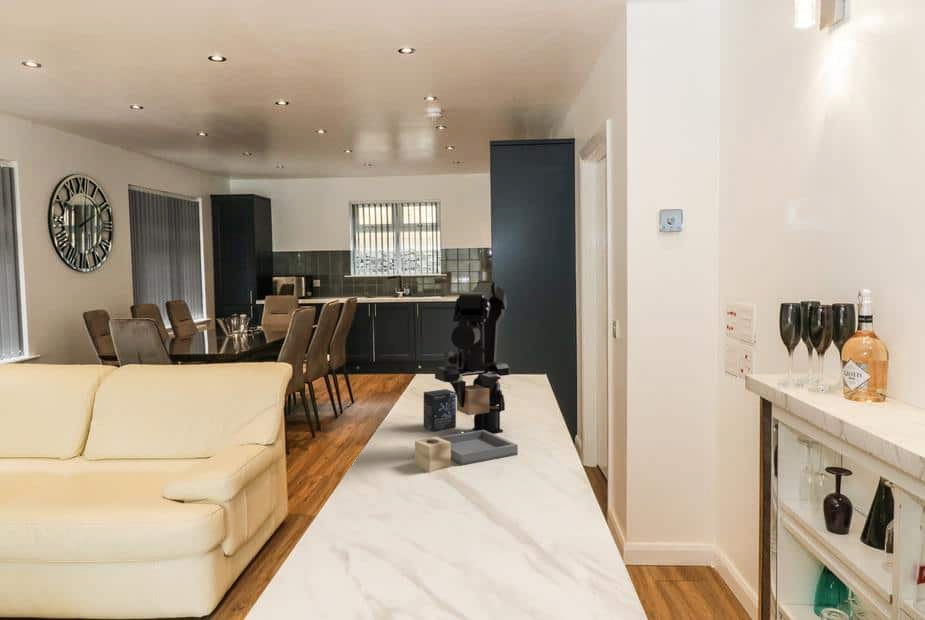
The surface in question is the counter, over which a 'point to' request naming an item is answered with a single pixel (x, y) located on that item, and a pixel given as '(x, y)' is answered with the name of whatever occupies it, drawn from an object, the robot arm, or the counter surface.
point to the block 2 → (475, 400)
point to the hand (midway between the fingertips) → (472, 405)
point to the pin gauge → (457, 432)
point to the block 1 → (433, 454)
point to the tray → (479, 447)
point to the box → (439, 410)
